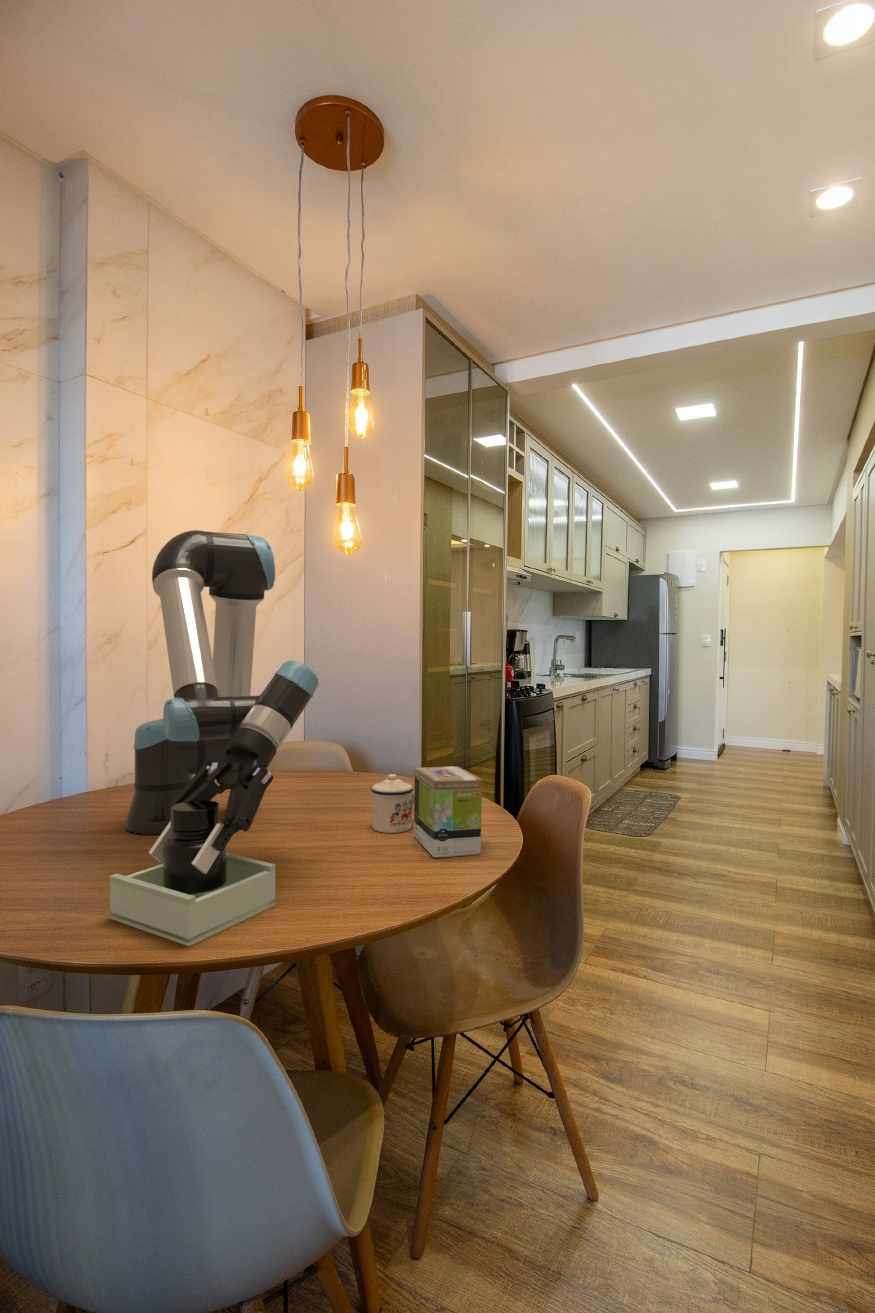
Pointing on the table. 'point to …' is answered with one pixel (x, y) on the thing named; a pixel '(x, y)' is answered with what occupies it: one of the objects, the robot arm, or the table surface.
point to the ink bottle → (192, 848)
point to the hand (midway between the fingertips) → (176, 863)
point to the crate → (192, 901)
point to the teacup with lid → (392, 805)
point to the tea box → (448, 811)
